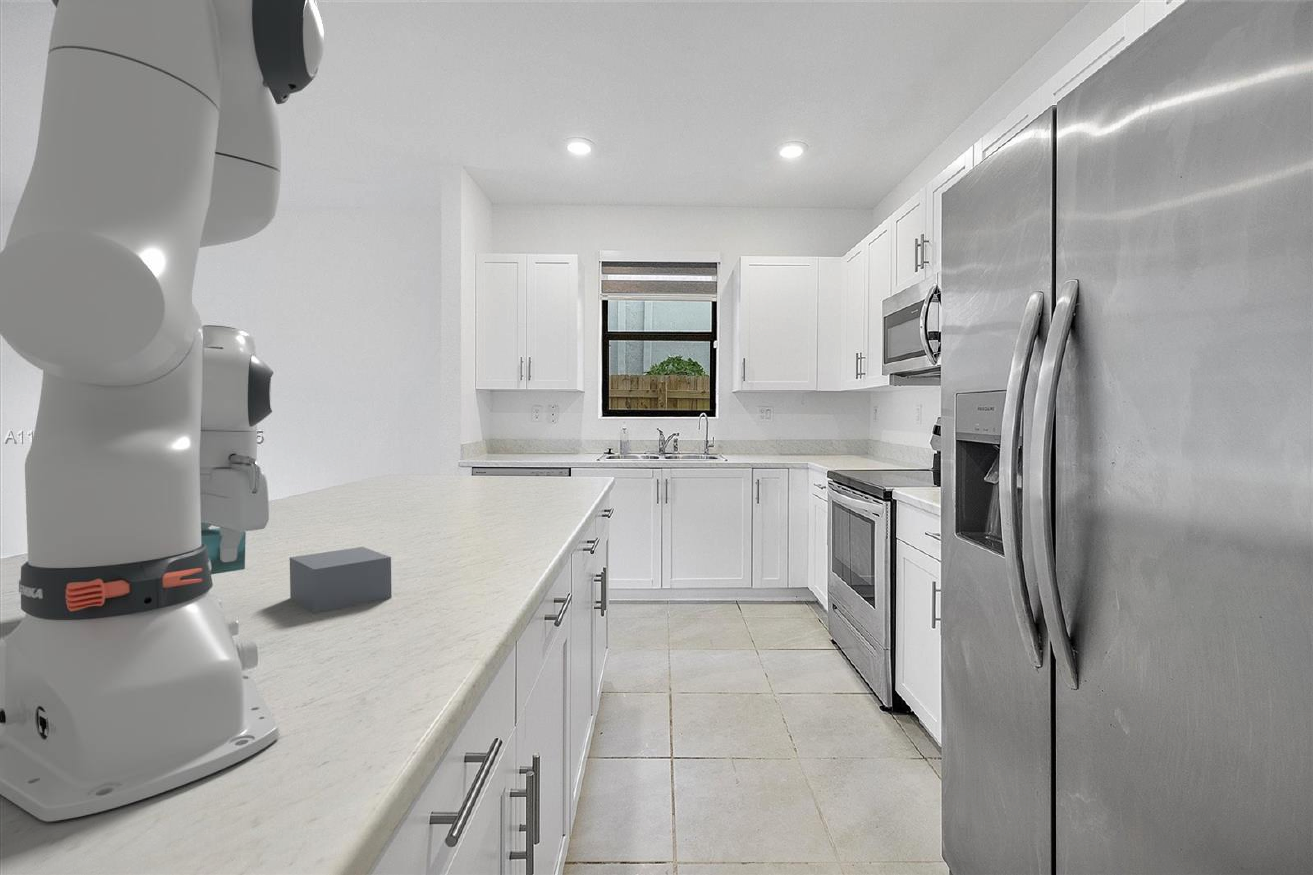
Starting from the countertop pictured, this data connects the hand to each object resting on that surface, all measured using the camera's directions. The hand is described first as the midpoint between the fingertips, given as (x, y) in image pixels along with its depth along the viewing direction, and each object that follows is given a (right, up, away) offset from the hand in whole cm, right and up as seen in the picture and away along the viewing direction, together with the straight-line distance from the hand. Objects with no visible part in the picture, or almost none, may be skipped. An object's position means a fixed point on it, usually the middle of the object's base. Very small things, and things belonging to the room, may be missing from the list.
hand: (214, 557), depth 84 cm
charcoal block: (+14, -7, +6) cm, 17 cm away
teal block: (0, -2, 0) cm, 2 cm away
